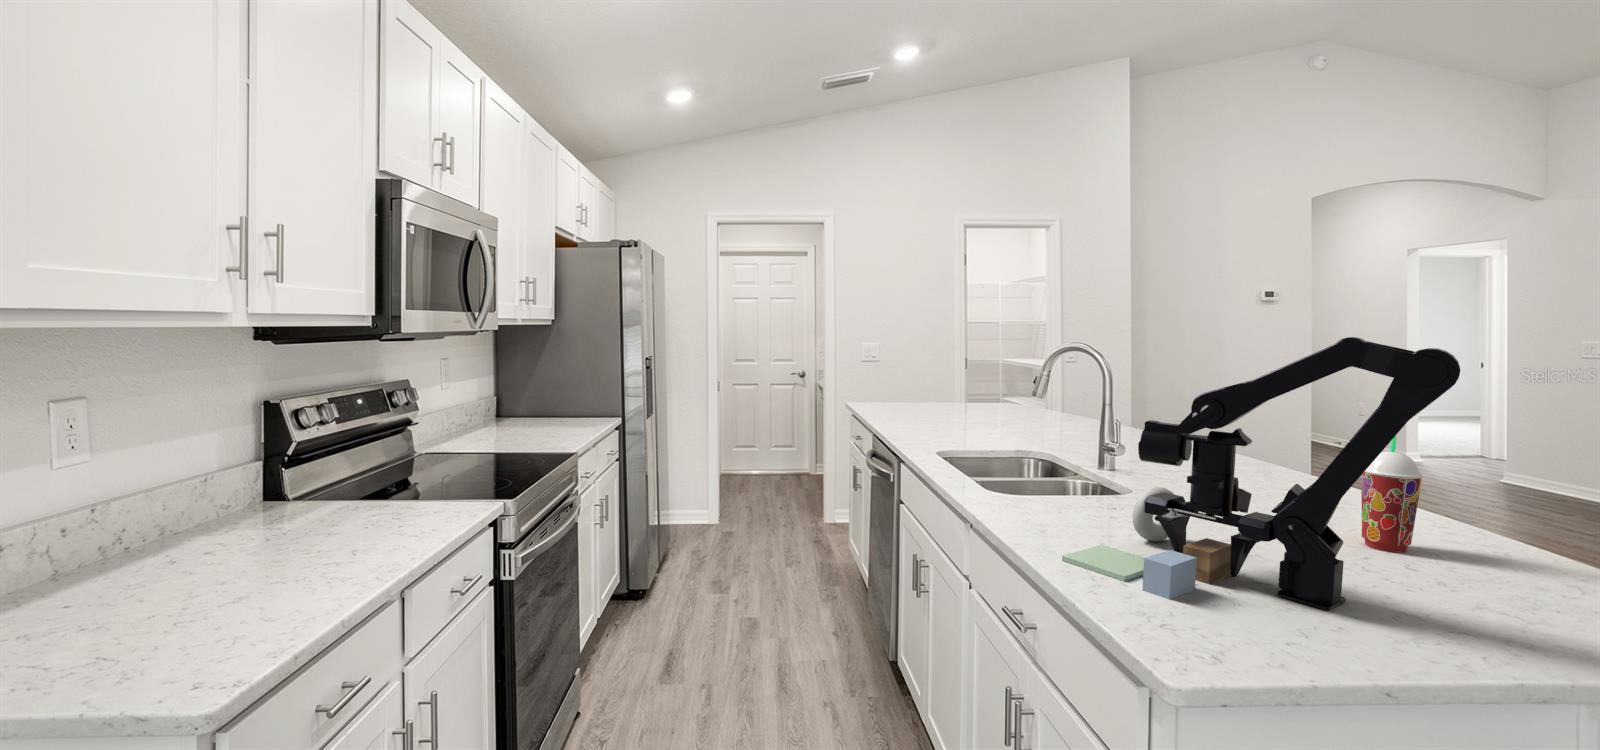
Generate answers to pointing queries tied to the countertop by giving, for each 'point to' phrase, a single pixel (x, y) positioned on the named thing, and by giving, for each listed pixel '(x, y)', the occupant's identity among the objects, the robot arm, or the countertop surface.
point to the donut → (1148, 517)
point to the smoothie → (1390, 501)
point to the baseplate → (1108, 562)
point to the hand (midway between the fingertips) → (1207, 568)
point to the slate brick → (1169, 574)
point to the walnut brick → (1210, 559)
